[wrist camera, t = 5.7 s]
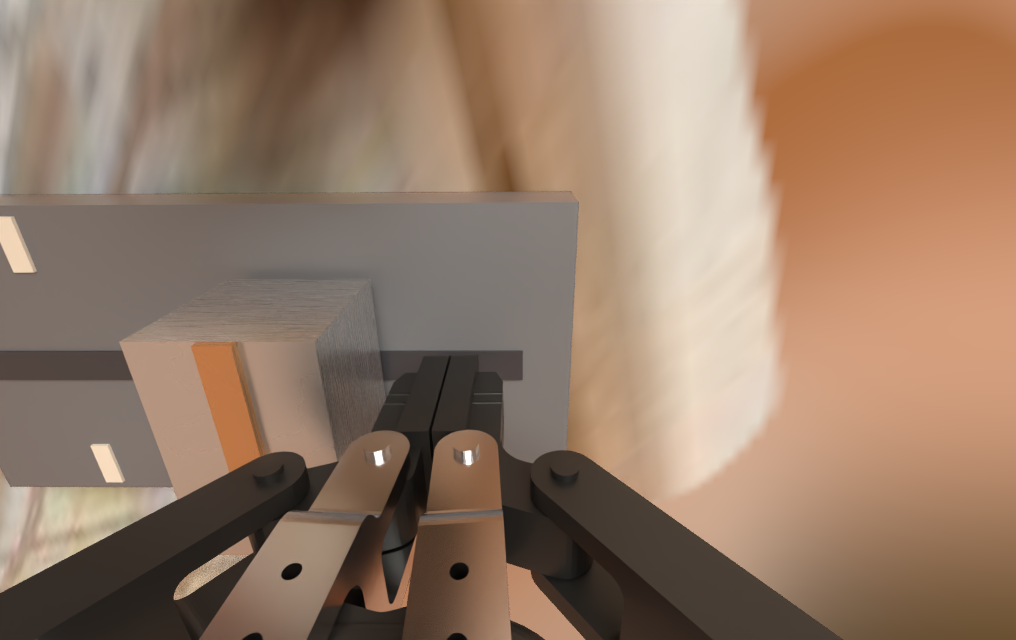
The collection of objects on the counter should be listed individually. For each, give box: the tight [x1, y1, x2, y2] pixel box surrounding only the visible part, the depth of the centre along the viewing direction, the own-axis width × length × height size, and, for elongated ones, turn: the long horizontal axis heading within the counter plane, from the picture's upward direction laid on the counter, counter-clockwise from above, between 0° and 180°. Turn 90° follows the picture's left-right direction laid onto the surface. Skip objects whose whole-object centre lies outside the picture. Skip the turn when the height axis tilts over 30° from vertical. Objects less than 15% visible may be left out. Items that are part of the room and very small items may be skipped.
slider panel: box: [0, 191, 579, 487], centre depth 16 cm, size 10×20×2 cm, turn 90°
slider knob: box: [119, 279, 386, 555], centre depth 13 cm, size 6×4×4 cm, turn 0°
